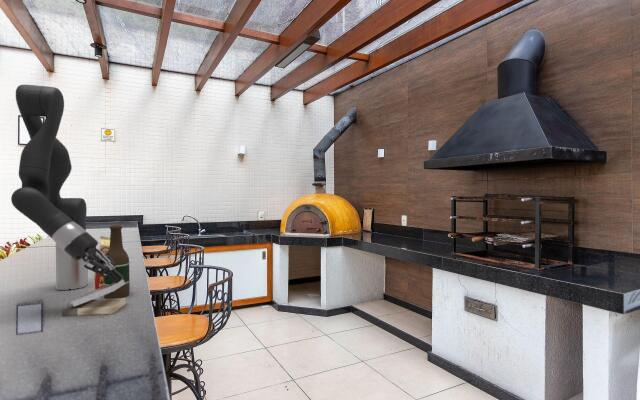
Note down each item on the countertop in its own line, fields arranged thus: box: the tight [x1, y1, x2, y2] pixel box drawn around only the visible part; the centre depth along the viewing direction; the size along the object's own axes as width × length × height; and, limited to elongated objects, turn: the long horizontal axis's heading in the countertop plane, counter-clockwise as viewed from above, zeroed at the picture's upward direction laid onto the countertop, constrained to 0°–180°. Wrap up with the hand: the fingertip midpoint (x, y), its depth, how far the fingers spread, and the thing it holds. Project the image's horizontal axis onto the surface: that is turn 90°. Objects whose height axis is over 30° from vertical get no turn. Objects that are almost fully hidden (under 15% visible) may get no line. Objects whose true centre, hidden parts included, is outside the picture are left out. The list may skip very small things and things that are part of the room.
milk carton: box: [92, 235, 124, 291], centre depth 129 cm, size 9×9×20 cm
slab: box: [66, 279, 125, 307], centre depth 108 cm, size 2×9×13 cm
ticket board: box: [61, 297, 126, 317], centre depth 107 cm, size 14×9×2 cm, turn 99°
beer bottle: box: [103, 224, 131, 299], centre depth 122 cm, size 8×8×24 cm
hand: (120, 280), depth 108 cm, fingers closed
